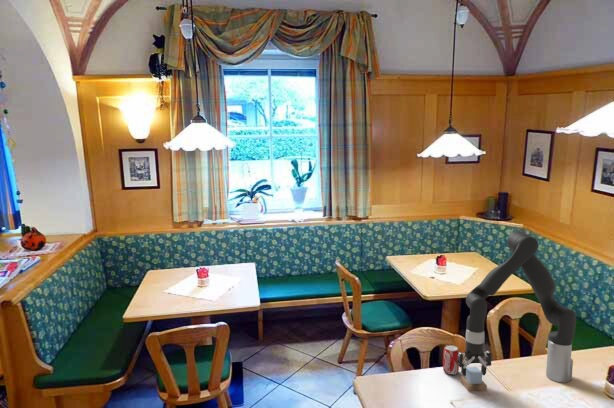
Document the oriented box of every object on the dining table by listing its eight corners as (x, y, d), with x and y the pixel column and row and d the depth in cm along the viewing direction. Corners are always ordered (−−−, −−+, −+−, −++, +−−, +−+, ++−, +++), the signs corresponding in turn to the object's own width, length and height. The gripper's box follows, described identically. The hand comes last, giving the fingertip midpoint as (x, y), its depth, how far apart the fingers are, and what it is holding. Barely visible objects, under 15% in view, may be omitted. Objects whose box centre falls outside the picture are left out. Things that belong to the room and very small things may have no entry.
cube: (481, 383, 186) (482, 372, 185) (470, 384, 185) (471, 373, 185) (476, 377, 191) (476, 366, 190) (465, 378, 190) (465, 367, 190)
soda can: (459, 376, 196) (460, 351, 195) (443, 375, 198) (444, 350, 196) (457, 369, 203) (458, 344, 202) (442, 367, 205) (442, 343, 203)
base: (477, 381, 193) (478, 375, 192) (486, 391, 185) (486, 385, 185) (460, 382, 192) (460, 376, 192) (468, 392, 184) (468, 386, 184)
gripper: (462, 344, 182) (461, 380, 184) (495, 342, 183) (493, 378, 185) (455, 336, 189) (454, 371, 191) (486, 335, 190) (485, 369, 192)
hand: (473, 374), depth 188 cm, fingers open, 8 cm apart
